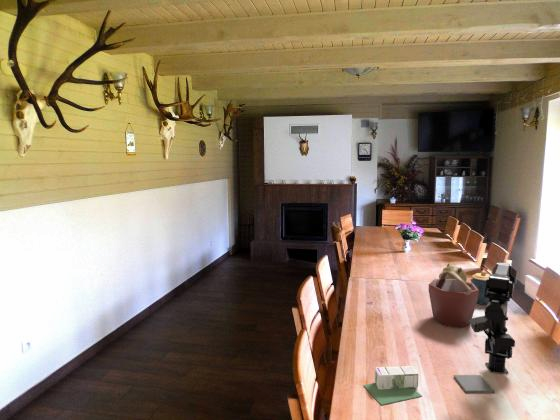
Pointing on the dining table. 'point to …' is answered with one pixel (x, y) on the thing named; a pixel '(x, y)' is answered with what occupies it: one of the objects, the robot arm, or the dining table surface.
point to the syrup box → (396, 377)
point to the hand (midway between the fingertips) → (494, 353)
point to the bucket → (452, 300)
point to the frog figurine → (456, 270)
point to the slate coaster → (473, 384)
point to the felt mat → (391, 394)
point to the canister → (481, 286)
